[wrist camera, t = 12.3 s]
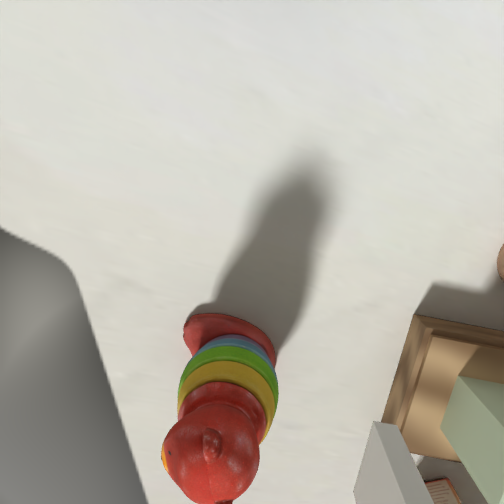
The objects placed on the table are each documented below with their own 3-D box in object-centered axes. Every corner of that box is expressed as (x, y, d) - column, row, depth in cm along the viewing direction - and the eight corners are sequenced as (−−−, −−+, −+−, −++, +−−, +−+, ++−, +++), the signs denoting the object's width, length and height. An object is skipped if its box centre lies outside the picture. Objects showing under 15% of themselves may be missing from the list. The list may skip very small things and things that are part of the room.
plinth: (413, 314, 41) (428, 329, 37) (544, 339, 41) (572, 357, 37) (379, 427, 44) (389, 452, 41) (500, 450, 44) (522, 478, 41)
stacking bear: (182, 313, 42) (121, 417, 25) (275, 310, 42) (279, 415, 25) (190, 401, 45) (139, 552, 28) (278, 400, 44) (284, 553, 27)
